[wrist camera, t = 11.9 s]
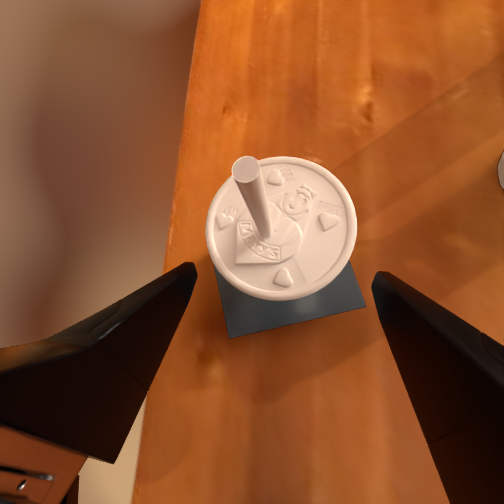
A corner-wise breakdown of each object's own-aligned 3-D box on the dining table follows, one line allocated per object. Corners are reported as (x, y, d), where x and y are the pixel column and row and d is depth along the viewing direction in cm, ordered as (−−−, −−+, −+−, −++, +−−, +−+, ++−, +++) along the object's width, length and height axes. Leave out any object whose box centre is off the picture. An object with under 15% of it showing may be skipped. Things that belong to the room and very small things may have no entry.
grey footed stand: (348, 302, 20) (366, 306, 15) (240, 327, 21) (228, 339, 17) (318, 216, 22) (326, 198, 17) (221, 244, 23) (207, 235, 19)
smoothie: (232, 258, 18) (69, 171, 4) (279, 210, 18) (264, -26, 4) (281, 308, 16) (269, 423, 3) (332, 256, 16) (571, 112, 3)
